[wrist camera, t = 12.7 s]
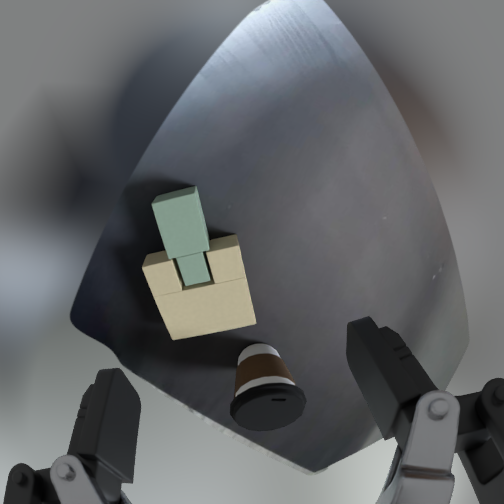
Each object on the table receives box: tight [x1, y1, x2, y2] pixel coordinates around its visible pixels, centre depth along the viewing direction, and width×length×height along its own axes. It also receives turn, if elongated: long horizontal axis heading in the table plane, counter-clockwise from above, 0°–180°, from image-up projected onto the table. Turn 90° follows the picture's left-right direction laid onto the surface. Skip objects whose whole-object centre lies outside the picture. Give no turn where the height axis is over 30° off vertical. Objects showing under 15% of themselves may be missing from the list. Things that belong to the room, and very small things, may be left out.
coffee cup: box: [230, 343, 307, 431], centre depth 42 cm, size 11×11×12 cm
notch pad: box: [142, 234, 256, 340], centre depth 39 cm, size 12×12×4 cm
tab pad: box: [151, 186, 210, 286], centre depth 35 cm, size 11×5×4 cm, turn 10°
